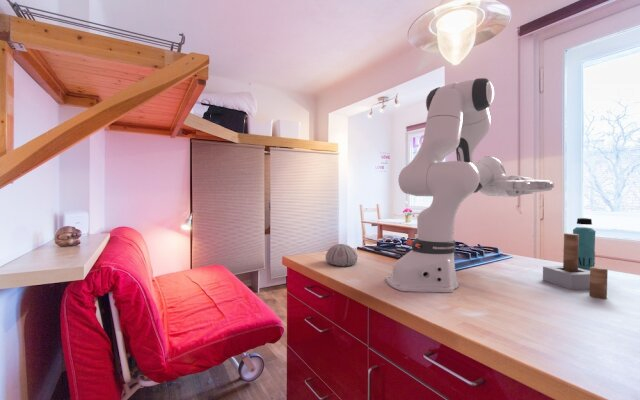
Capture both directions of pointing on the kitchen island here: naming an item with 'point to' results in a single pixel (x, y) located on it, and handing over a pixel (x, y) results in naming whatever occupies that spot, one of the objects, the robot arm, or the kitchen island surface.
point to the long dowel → (570, 252)
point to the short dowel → (598, 282)
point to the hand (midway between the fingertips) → (540, 185)
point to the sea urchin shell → (341, 255)
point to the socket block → (567, 277)
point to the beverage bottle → (585, 244)
